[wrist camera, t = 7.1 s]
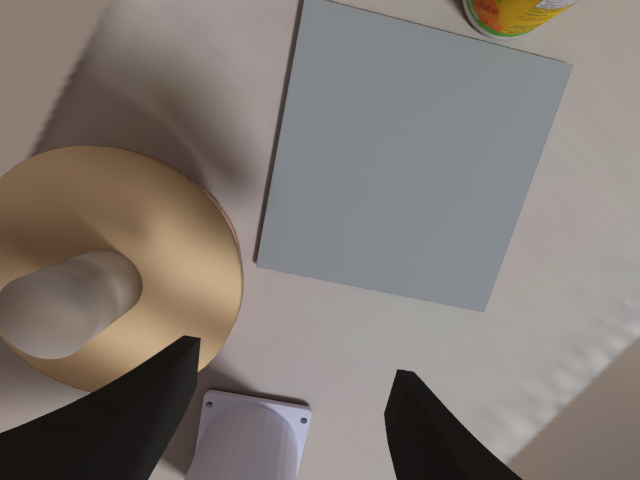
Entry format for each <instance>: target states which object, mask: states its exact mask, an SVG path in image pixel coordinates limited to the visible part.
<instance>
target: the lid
mask: <svg viewBox="0 0 640 480" xmlns="http://www.w3.org/2000/svg"><path fill="white" fill-rule="evenodd" d="M243 278H244V277H243V268H242V260H241V256H240V252H239V248H238V245H237V243H236V240H235V237H234V235H233V232H232V230H231V228H230V226H229V225H228V223H227V221H226V219H225V217H224V216H223V214H222V213H221V211H220V210H219V209H218V207H217V206H216V205H215V203H214V202H213V201H212V200H211V199H210V198H209V196H208V195H207V194H206V193H205V192H204V191H203V190H202V189H201V188H200V187H199V186H198V185H196V184H195V183H194V182H193V181H192V180H190V179H189V178H188V177H187V176H185V175H184V174H182V173H181V172H179V171H178V170H176V169H175V168H173V167H171V166H169V165H167V164H165V163H163V162H161V161H159V160H157V159H155V158H152V157H150V156H147V155H144V154H141V153H138V152H134V151H129V150H125V149H120V148H110V147H98V146H70V147H64V148H59V149H53V150H49V151H46V152H43V153H41V154H38V155H35V156H32V157H31V158H29V159H27V160H25V161H23V162H21V163H19V164H17V165H16V166H15V167H13V168H12V169H11V170H10V171H8V172H7V173H5V174H4V175H3V176H2V177H1V178H0V336H1V337H2V339H3V340H4V341H5V342H6V343H7V344H8V345H9V346H10V347H11V348H12V349H13V350H14V351H15V352H16V353H17V354H18V355H19V356H20V357H22V358H23V359H24V360H25V361H26V362H28V363H29V364H30V365H32V366H33V367H35V368H36V369H38V370H39V371H41V372H42V373H44V374H45V375H47V376H49V377H51V378H53V379H55V380H57V381H59V382H61V383H64V384H66V385H69V386H72V387H74V388H77V389H81V390H84V391H88V392H94V391H96V390H98V389H100V388H102V387H104V386H105V385H107V384H109V383H110V382H112V381H114V380H116V379H117V378H119V377H121V376H122V375H124V374H126V373H127V372H129V371H131V370H132V369H134V368H135V367H137V366H138V365H140V364H142V363H143V362H145V361H146V360H148V359H149V358H151V357H152V356H154V355H155V354H157V353H158V352H160V351H161V350H163V349H164V348H166V347H167V346H168V345H170V344H171V343H173V342H174V341H176V340H177V339H179V338H180V337H182V336H183V335H186V336H192V337H198V338H201V343H200V354H199V364H198V372H199V371H200V370H201V369H203V368H204V367H205V366H206V365H207V364H208V363H209V362H210V361H211V360H212V359H213V358H214V357H215V356H216V355H217V353H218V352H219V350H220V349H221V348H222V346H223V345H224V343H225V342H226V340H227V338H228V336H229V334H230V332H231V330H232V328H233V326H234V324H235V322H236V319H237V316H238V313H239V310H240V307H241V301H242V295H243Z"/></svg>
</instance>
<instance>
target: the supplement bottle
mask: <svg viewBox="0 0 640 480" xmlns="http://www.w3.org/2000/svg"><path fill="white" fill-rule="evenodd" d="M578 1H580V0H463V5H464V9H465V12H466V15H467V17H468V19H469V20H470V22H471V23H472V25H473V26H474V27H475V28H476V29H477V30H478V31H479V32H481V33H482V34H484V35H486V36H488V37H491V38H494V39H512V38H516V37H519V36H522V35H524V34H526V33H528V32H530V31H531V30H533V29H535V28H537V27H538V26H540V25H541V24H543V23H545V22H546V21H548V20H550V19H551V18H553V17H554V16H556V15H558V14H559V13H561V12H562V11H564V10H566V9H567V8H569V7H570V6H572V5H574V4H575V3H577V2H578Z"/></svg>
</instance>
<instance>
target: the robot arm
mask: <svg viewBox="0 0 640 480" xmlns="http://www.w3.org/2000/svg"><path fill="white" fill-rule="evenodd" d="M200 343H201V338H198V337H192V336H186V335H183V336H182V337H180V338H179V339H177V340H176V341H174V342H173V343H171V344H170V345H168V346H167V347H166V348H164V349H163V350H161V351H160V352H158V353H157V354H155V355H154V356H152V357H151V358H149V359H148V360H146V361H145V362H143V363H142V364H140V365H138V366H137V367H135V368H134V369H132V370H131V371H129V372H127V373H126V374H124V375H122V376H121V377H119V378H117V379H116V380H114V381H112V382H110V383H109V384H107V385H105V386H104V387H102V388H100V389H98V390H96V391H94V392H92V393H90V394H89V395H87V396H85V397H83V398H81V399H79V400H77V401H75V402H73V403H70V404H68V405H66V406H64V407H62V408H60V409H57V410H55V411H53V412H51V413H48V414H46V415H44V416H41V417H39V418H37V419H34V420H32V421H30V422H27V423H25V424H23V425H20V426H18V427H15V428H13V429H10V430H8V431H5V432H2V433H0V480H148V479H149V477H150V475H151V473H152V471H153V470H154V468H155V466H156V464H157V463H158V461H159V459H160V457H161V455H162V454H163V452H164V450H165V448H166V446H167V445H168V443H169V441H170V439H171V438H172V436H173V434H174V432H175V430H176V429H177V427H178V425H179V423H180V421H181V419H182V418H183V416H184V414H185V412H186V409H187V407H188V405H189V402H190V400H191V398H192V395H193V393H194V390H195V388H196V385H197V375H198V364H199V354H200ZM208 402H212V403H213V404H210V403H208ZM311 417H312V410H311V408H310V407H308V406H304V405H298V404H292V403H287V402H281V401H275V400H269V399H263V398H257V397H252V396H246V395H240V394H234V393H228V392H223V391H217V390H208V391H207V392H206V393H205V395H204V398H203V404H202V411H201V417H200V423H199V430H198V436H197V442H196V449H195V455H194V458H193V460H192V463H191V465H190V468H189V470H188V472H187V475H186V477H185V480H296V477H297V473H298V469H299V465H300V461H301V457H302V453H303V449H304V445H305V441H306V437H307V433H308V429H309V425H310V421H311ZM384 417H385V426H386V433H387V440H388V446H389V450H390V454H391V458H392V462H393V466H394V470H395V474H396V478H397V480H522V479H521V478H520V477H519V476H518V475H516V474H515V473H514V472H512V470H510V469H509V468H508V467H507V466H506V465H505V464H504V463H502V462H501V461H500V460H499V459H498V458H497V457H496V456H494V455H493V454H492V453H491V452H490V451H489V450H488V449H487V448H486V447H485V446H483V445H482V444H481V443H480V442H479V441H478V440H477V439H476V438H475V437H474V436H473V435H472V434H471V433H470V432H469V431H468V430H467V429H466V428H465V427H464V426H463V425H462V424H461V423H460V422H459V421H458V420H457V419H456V417H455V416H454V415H453V414H452V413H451V412H450V411H449V410H448V409H447V408H446V407H445V406H444V405H443V403H442V402H441V401H440V400H439V399H438V398H437V397H436V396H435V395H434V393H433V392H432V391H431V390H430V389H429V388H428V387H427V386H426V384H425V383H424V382H423V381H422V380H421V379H420V378H419V377H418V376H417V375H416V374H415V373H414V372H412V371H406V370H399V369H397V372H396V376H395V379H394V382H393V386H392V389H391V392H390V396H389V399H388V402H387V406H386V409H385V412H384ZM301 418H306V419H305V420H303V419H301Z"/></svg>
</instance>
